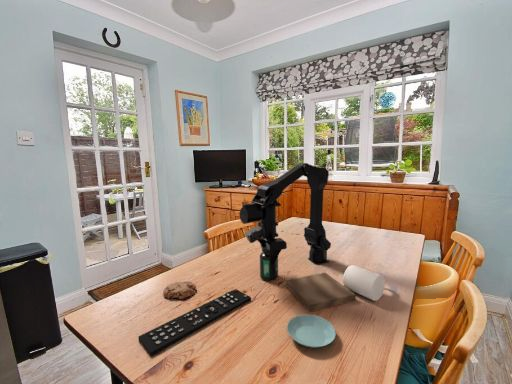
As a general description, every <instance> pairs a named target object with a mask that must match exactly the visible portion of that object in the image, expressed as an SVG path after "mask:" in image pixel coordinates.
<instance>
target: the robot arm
mask: <svg viewBox="0 0 512 384" xmlns="http://www.w3.org/2000/svg"><path fill="white" fill-rule="evenodd" d="M329 172H330V171H329V170H328V169H327V168H326V167H320V166H319V167H318V166H315V165H312V164H310V163H307V162H299V163H296V165H295V166H293V167H292V168H291V169H289V170H288V171H286V172H284V173H283V174H281V175H280V176H279V177H278V178H276V179H274V180H270V181H266V182H264V183H262V184H260V185H259V186H258V187H257V190H256V193H255V195H254V196H253V198H252V200H251V202H250V203H242V204H241V205H242V206H241V208H240V210H239V219H240V222H241V223H242V224H243V225H246V224H252V223H257V226H254V227H252V228H250V229H248V230H246V231H244V234H245V237H246V239H247V241H248V242H249V243H250V244H254V243H255V242H259V245H260V247H261V249H262V246H263V245H266V247H265V248H266V249H267V250H268V251H269V255H270V261H271V264H274V263H275V261H276V259H277V257H278V258H279V255H280V253H281V251H282V250H286V249H287V248H288V243H287V242H286V240H284V239H283V238H281V237H279V233H278V232H277V227H278V226H279V222H278V221H277V207H281V206H282V204H281V203H280V202H279V201H278V199H279V198H280V197H281V196H282V194H283V192H284V190H286V188H288V187H289V186H291V185H292V184H293V183H295V182H296V181H298V180H299V179H300V178H302V177H306V182H307V184H308V186H309V188H310V201H309V202H310V204H309V205H310V206H309V224H308V225H307V226H305V227H304V229H303V231H304V233H303V234H304V235H303V237H304V240H305V241H306V244H307V246H310V247H309V248H310V249H309V251H308V254H309V255H308V258H307V259H308V260H309V261H310V262H312V263H313V264H314V265H320V264H321V265H322V264H326V263H330V260H328V250H329V249H331V246H332V243H331V241H329V240H328V238H327V234H326V230H325V227H324V225H323V209H324V208H323V207H324V189H325V187H326V186H327V185H328V182H329V176H330V174H329Z"/></svg>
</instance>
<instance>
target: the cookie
mask: <svg viewBox="0 0 512 384" xmlns="http://www.w3.org/2000/svg"><path fill="white" fill-rule="evenodd" d="M196 290H197V284H195V283H193V282H192V281H175V282H173V283H170V284H168V285H167V286H166V287H165V288H164V289H163V293H162V295H163V297H164V298H167V299H175V298H176V299H178V300H183V299H185V298H187V297H191V296H193V295H194V294H195V292H196Z"/></svg>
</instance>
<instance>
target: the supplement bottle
mask: <svg viewBox="0 0 512 384" xmlns="http://www.w3.org/2000/svg"><path fill="white" fill-rule="evenodd" d="M265 247H266V245H263V246H262V248H261V253H260V254H259V278H260V279H261V280H262V281H266V282H273V281H276V280H277V279H279V256H278V257H277V259H276V261H275V263H274V264H271V261H270V255H269V251H268V250H267V249H266V248H265Z"/></svg>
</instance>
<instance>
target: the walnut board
mask: <svg viewBox="0 0 512 384" xmlns="http://www.w3.org/2000/svg"><path fill="white" fill-rule="evenodd" d="M285 287H287V289H288V290H289V291H290V292H291V293H292V294H293V295H294V296H295V297H296V299H297V300H299V301H300V303H301V304H302V306H304V307H305V308H306V309H307V311H308V312H313V311H317V310H323V309H326V308H330V307H334V306H337V305H343V304H346V303H350V302H354V301H356V294H355V292H354V291H351V290H349V289H347V288H346V287H345V286H344V284H342V283H341V282H339V280H336V279H335V278H334V277H332V276H331V275H329V274H328V273H327V272H321V273H316V274H315V273H314V274H311V275H305V276H300V277H297V278H296V277H295V278H291V279H286V280H285Z"/></svg>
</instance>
